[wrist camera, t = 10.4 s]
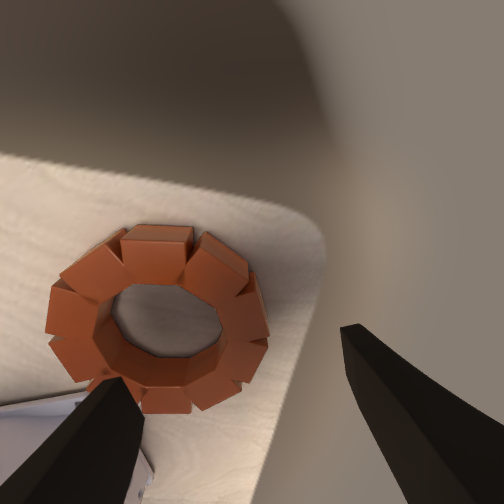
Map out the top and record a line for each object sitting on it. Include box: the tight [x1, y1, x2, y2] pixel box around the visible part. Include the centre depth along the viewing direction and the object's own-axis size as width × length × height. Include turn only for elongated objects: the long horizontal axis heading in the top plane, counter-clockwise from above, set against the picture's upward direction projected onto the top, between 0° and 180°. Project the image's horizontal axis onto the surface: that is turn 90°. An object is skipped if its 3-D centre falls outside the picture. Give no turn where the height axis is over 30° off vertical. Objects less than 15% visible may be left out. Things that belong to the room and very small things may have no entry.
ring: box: [45, 225, 270, 414], centre depth 12 cm, size 9×9×2 cm
